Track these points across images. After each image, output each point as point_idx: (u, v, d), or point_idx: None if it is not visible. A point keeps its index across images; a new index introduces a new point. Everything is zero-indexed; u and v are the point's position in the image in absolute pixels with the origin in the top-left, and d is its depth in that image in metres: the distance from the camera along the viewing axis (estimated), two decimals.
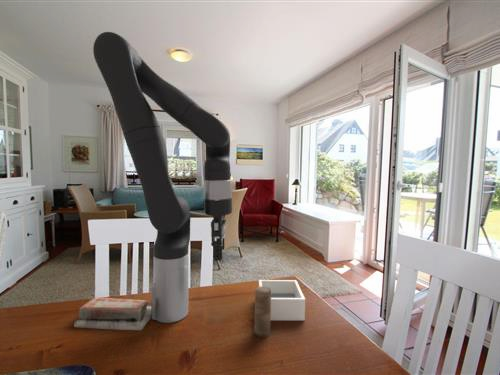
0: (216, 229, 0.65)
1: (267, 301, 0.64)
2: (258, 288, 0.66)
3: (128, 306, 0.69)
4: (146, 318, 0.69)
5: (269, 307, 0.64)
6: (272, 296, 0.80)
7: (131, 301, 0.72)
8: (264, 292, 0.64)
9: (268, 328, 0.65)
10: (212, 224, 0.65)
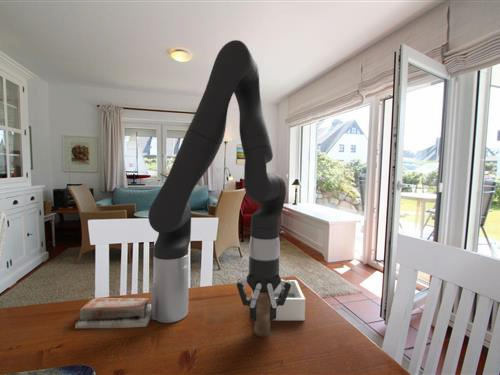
0: None
1: (267, 301, 0.64)
2: None
3: (130, 304, 0.70)
4: (149, 315, 0.71)
5: (269, 307, 0.64)
6: None
7: (132, 299, 0.73)
8: (264, 292, 0.64)
9: (268, 328, 0.65)
10: None
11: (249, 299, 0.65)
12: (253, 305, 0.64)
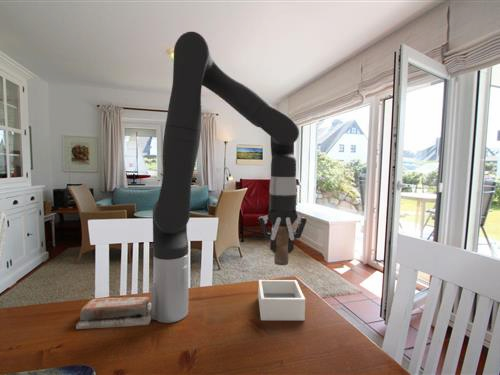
0: None
1: (286, 233, 0.73)
2: None
3: (132, 303, 0.70)
4: (150, 313, 0.72)
5: (287, 239, 0.73)
6: (272, 296, 0.80)
7: (133, 299, 0.73)
8: (283, 226, 0.73)
9: (286, 258, 0.74)
10: None
11: (269, 233, 0.75)
12: (273, 237, 0.73)
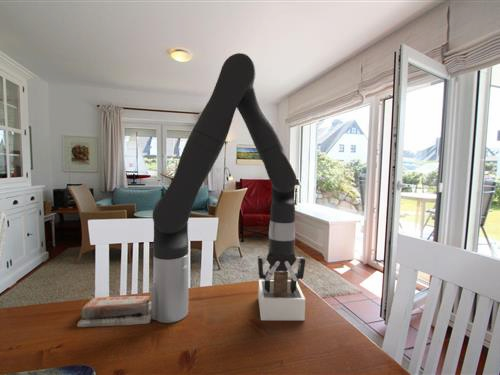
0: None
1: (285, 281, 0.75)
2: (276, 271, 0.77)
3: (132, 302, 0.71)
4: None
5: (286, 286, 0.75)
6: (272, 296, 0.80)
7: (134, 297, 0.74)
8: (282, 274, 0.75)
9: None
10: (304, 260, 0.75)
11: (265, 273, 0.76)
12: (268, 278, 0.75)
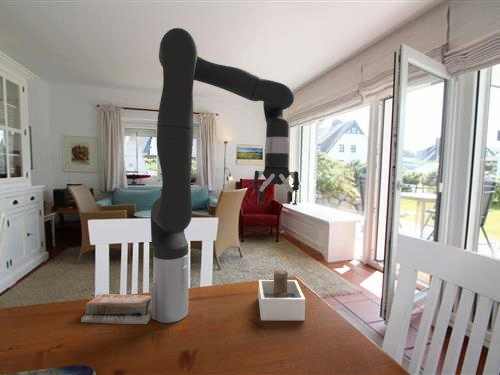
0: None
1: (284, 281, 0.75)
2: (276, 271, 0.77)
3: (133, 301, 0.71)
4: None
5: (286, 287, 0.75)
6: (272, 296, 0.80)
7: (136, 296, 0.74)
8: (282, 274, 0.75)
9: None
10: None
11: None
12: (262, 189, 0.82)
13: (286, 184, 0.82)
